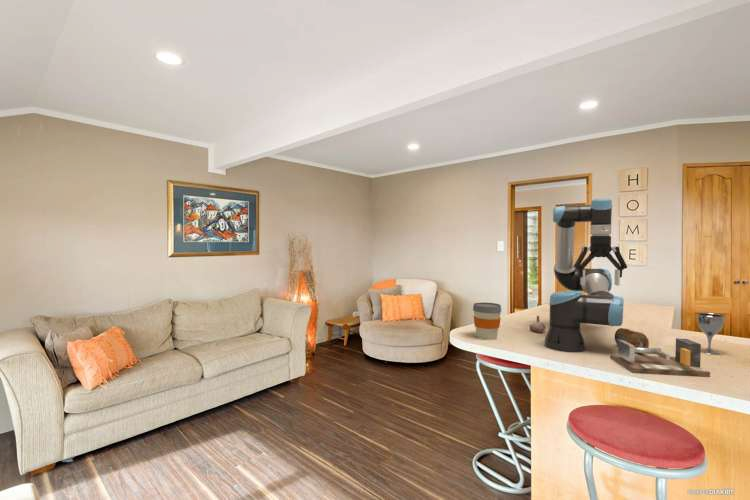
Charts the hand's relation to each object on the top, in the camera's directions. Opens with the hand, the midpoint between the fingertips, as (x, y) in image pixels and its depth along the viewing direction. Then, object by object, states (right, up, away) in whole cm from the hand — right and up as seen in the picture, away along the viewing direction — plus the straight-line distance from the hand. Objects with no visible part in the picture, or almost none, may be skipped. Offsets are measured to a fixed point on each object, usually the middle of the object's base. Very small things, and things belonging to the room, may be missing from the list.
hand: (599, 285), depth 157 cm
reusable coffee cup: (-44, -25, +13) cm, 53 cm away
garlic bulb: (-16, -25, +23) cm, 38 cm away
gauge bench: (+4, -26, -27) cm, 38 cm away
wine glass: (+38, -26, -10) cm, 47 cm away
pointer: (+8, -23, -34) cm, 42 cm away
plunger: (-2, -24, -28) cm, 37 cm away
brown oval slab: (+8, -26, -8) cm, 28 cm away
